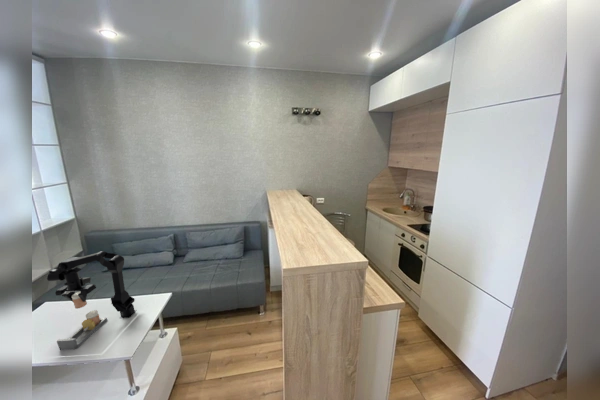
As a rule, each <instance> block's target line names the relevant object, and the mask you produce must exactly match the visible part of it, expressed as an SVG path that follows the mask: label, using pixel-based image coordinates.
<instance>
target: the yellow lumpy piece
mask: <svg viewBox="0 0 600 400" xmlns="http://www.w3.org/2000/svg"><path fill="white" fill-rule="evenodd" d="M81 325H82V326H81V327H83V329H84V330H83V331H86V330H92V329H94V328H95V327H96V326H95V323H94V321H92V320H87V319H84V320H82V322H81Z"/></svg>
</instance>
